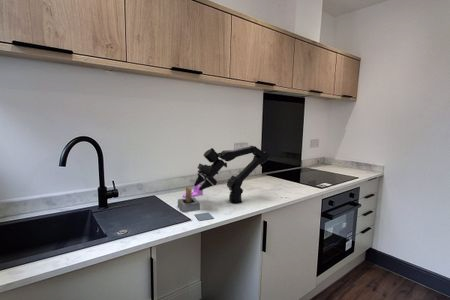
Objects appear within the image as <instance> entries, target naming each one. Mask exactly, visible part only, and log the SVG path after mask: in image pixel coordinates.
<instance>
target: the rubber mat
mask: <svg viewBox="0 0 450 300" xmlns="http://www.w3.org/2000/svg"><path fill="white" fill-rule="evenodd" d="M194 217H195V218H196V220H197V221H198V222H201V221H209V220H214V219H215V217H214V216H212V214H211V213H210V212H202V213H196V214H194Z"/></svg>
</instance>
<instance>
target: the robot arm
mask: <svg viewBox="0 0 450 300" xmlns="http://www.w3.org/2000/svg"><path fill="white" fill-rule="evenodd" d="M249 154H252V155H253V159H252V160H251V161H250V162H249V163H248V165H246V166H245V167H244V169H242V170H241V171H240V172H239V173H238V175H236V176H234V175H232V176H230V178H229V179H227V181H226V182H227V183H226V186H227V187H226V188H228V189H229V192H230V193H229V198H228V201H229V202H231V204H240V203H243V200H242V194H243V192H244V189H243V188H241V187H242V184H243V182H244V181H245V179H246V178H247V177H249V175H250V174H252V172H253V171H255V169H257V167H258V166H260V165H263V164H265V163H266V162H267V161H268V160H269V154H268V153H267V152H266V151H263V150H261V149H260V148H259V147H257V146H255V145H249V146H246V147H241V148H238V149H234V150H233V149H231V150H229V149H228V150H222V151H221V152H216V150H215V149H214V148H213V147H211V148H210V149H208V150H206V151H205V152H204V153H203V157H204V158H205V159H206V160H207V161H208V162H209V163H210V164H211V165H208V164H202V163H201V162H200V163H198V166H197V169H198V170H197V173H196V174H197V178H196V180H195V182H194V184H193V187H194V186H196V187H197V185H198V184H199V185H201V187H200V188H199V190H200V191H201V190H203V191H204V190H205V189H208V188H211V187H215V186H216V185H217V184H218V181H217V179H215V176H216V175H219V172H220V170H221V169H222V168H223V167H224V168H226V169H227V168H228V163H227V162H231V161H234V160H235V159H236V158H239V157H241V156H246V155H249ZM201 183H202V184H201Z"/></svg>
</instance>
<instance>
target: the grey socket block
mask: <svg viewBox="0 0 450 300" xmlns="http://www.w3.org/2000/svg"><path fill="white" fill-rule="evenodd" d="M177 207H178V208H179V210H180V211H181V213H186V212H187V213H188V212H193V211H199V210H200V209H201V202H199V200H197V198H196V197H192V199H191V203H186V198H178V199H177Z"/></svg>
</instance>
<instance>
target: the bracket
mask: <svg viewBox="0 0 450 300" xmlns="http://www.w3.org/2000/svg"><path fill="white" fill-rule="evenodd" d="M201 186H202V184H198V185H197V186H194V185H193V192H192V198H193V197H195V198H196V197H199V196H203V195H204V189H203V190H201V191H200V190H199V188H200V187H201ZM185 198H186V193H183V194H182V199H185Z"/></svg>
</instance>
